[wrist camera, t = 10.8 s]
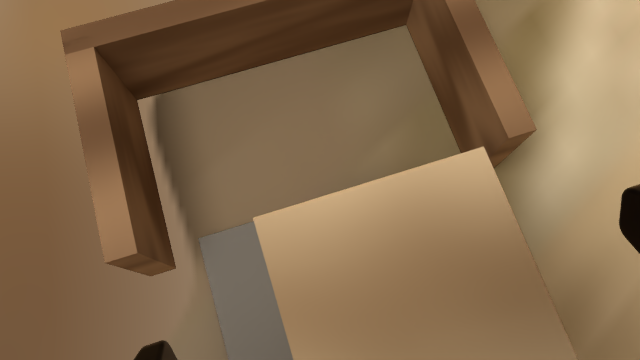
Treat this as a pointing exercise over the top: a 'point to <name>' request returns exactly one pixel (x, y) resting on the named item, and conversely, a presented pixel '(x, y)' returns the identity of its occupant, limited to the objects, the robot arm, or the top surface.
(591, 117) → the top surface
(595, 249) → the top surface
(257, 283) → the slate mat
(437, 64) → the walnut crate
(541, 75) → the top surface
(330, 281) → the ash block
